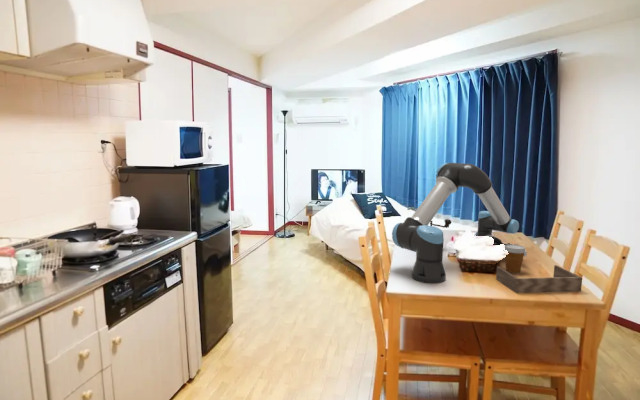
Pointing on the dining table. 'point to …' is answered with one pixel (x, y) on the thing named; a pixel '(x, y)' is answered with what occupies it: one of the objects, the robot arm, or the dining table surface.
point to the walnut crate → (541, 282)
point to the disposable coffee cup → (514, 258)
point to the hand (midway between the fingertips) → (512, 254)
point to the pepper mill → (447, 222)
